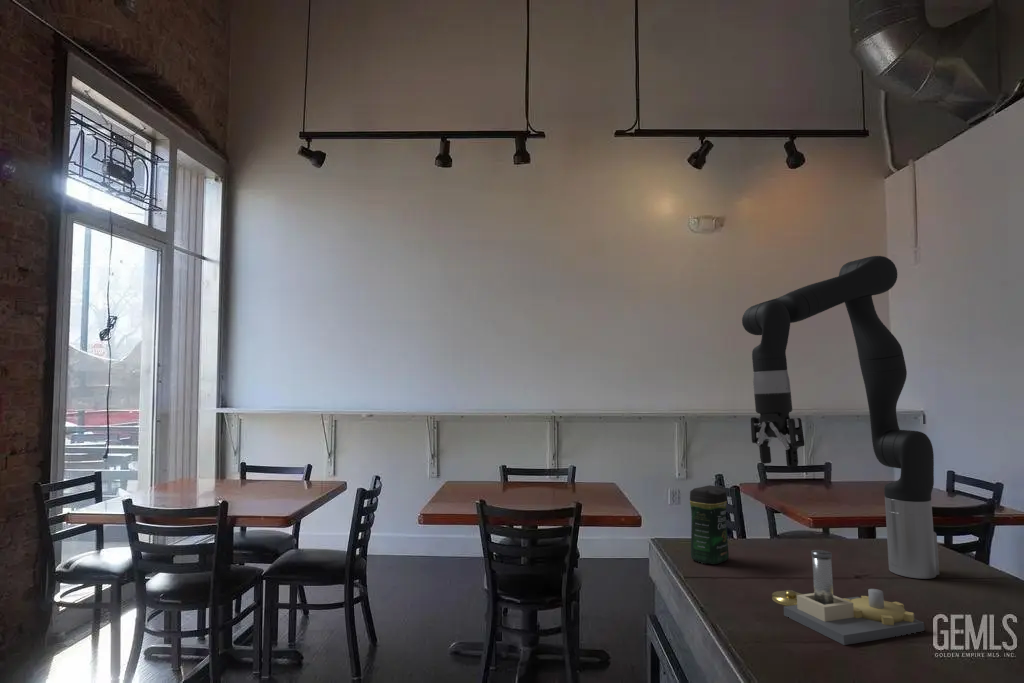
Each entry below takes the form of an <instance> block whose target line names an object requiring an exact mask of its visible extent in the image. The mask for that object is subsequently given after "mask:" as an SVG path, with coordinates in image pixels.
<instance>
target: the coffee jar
mask: <svg viewBox="0 0 1024 683" xmlns="http://www.w3.org/2000/svg"><path fill="white" fill-rule="evenodd" d="M727 499H728V496H727V491H726V489H724V487H722V486H716V485H705V486H700V487H696V488H695V487H694V488H693V489H692V490H690V491H689V504H690V513H691V535H690V536H691V537H690V558H691V560H694V561H696V562H697V561H698V563H699V562H701V563H700V564H703V563H705V564H712V565H717V564H720V563H724V562H726V561H727V560H728V559H729V555H730V554H729V540H728V531H727V529H728V528H727V504H728V500H727Z"/></svg>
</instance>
